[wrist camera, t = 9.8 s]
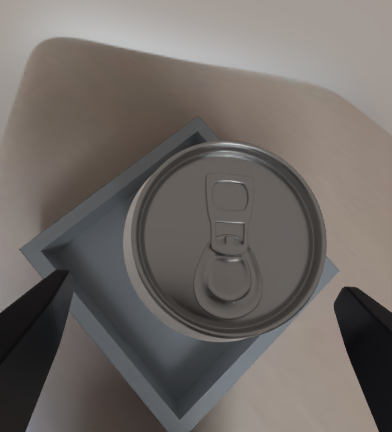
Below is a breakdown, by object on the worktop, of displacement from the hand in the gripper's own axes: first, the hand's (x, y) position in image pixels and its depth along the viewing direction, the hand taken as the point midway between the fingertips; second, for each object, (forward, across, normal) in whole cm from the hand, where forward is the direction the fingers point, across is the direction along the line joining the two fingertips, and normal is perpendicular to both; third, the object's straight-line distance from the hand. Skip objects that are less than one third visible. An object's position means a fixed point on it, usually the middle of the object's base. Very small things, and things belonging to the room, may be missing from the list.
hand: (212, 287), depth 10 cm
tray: (+9, 0, +7) cm, 11 cm away
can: (+8, 0, +6) cm, 11 cm away
